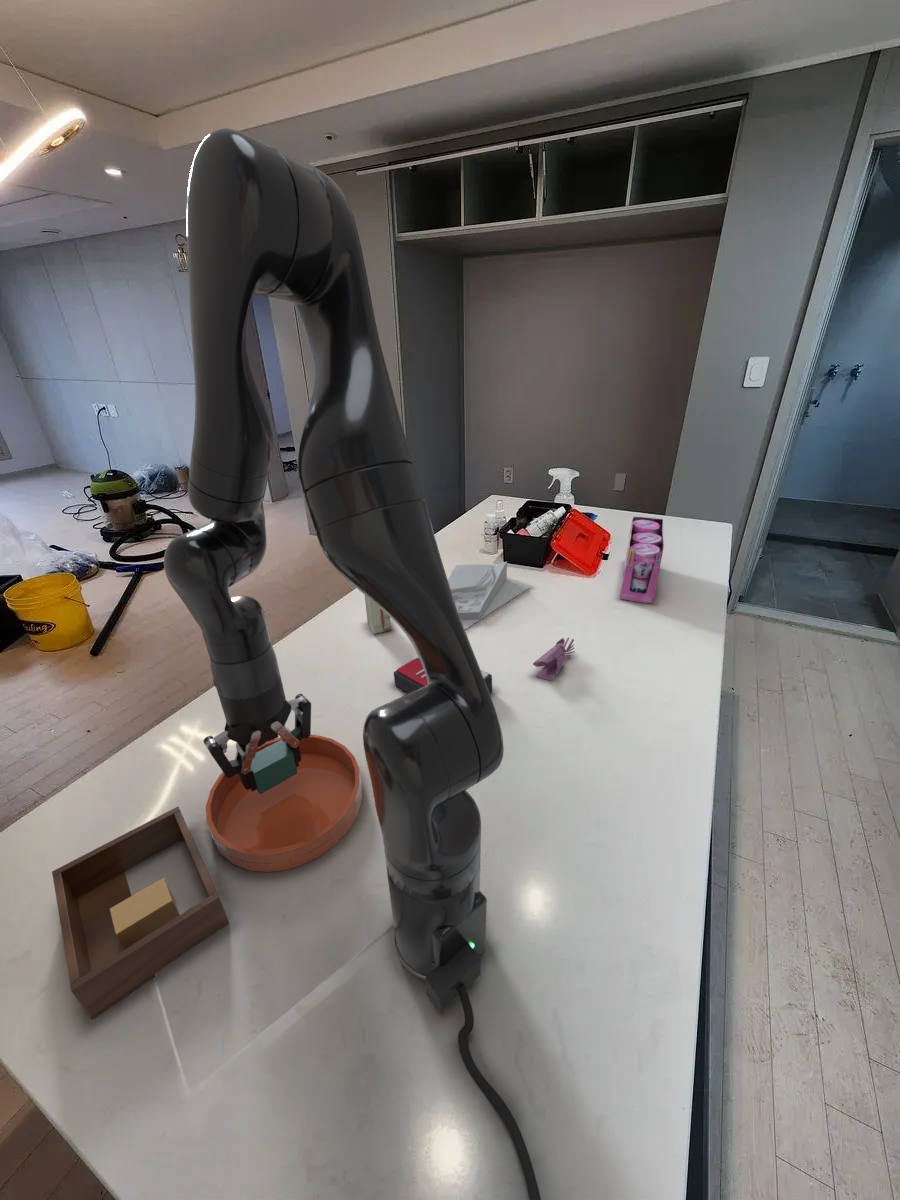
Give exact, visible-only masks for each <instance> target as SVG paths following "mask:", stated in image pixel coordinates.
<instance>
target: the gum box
mask: <svg viewBox="0 0 900 1200" xmlns="http://www.w3.org/2000/svg"><path fill="white" fill-rule="evenodd" d="M664 548H665V543H664V519H663V518H654V517H643V516H632V519H631V524H630V529H629V534H628V540H627V545H626V553H625V558H624V564H623V571H622V580H621V586H620V592H619V593H620V594H619V599H620V600H625V601H631V602H639V603H645V604H651V605H652V604H654V600H655V594H656V591H657V590H656V589H657V585H658V579H659V573H660V569H661V565H662V560H663V553H664Z"/></svg>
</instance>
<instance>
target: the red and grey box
mask: <svg viewBox="0 0 900 1200" xmlns="http://www.w3.org/2000/svg"><path fill="white" fill-rule="evenodd" d="M480 670H481V673H482V675H483V678H484V680H485V683H486V685H487V688H488V691H489V693H490V694H491V693H492V692H493V675H492V674H491V673H489V672H486V671H484V670H483V669H480ZM393 677H394V678H393V680H394V685H395V687H397V688H399V689H401V690H402V691H404V692H406V694H409V693H411V692H413V691H416V690H418V689H420V688H422V687H425V686H427V685H428V682H427V678H426V674H425V671H424V668H423V666H422V663H421V661H420V658H419V656H418V655H417V657H416V658H414V659H412V660H410V661H408V662H407V663H405V664H403V665H402V666H400V667H398V668H397V669H396V670H394V671H393Z"/></svg>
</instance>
